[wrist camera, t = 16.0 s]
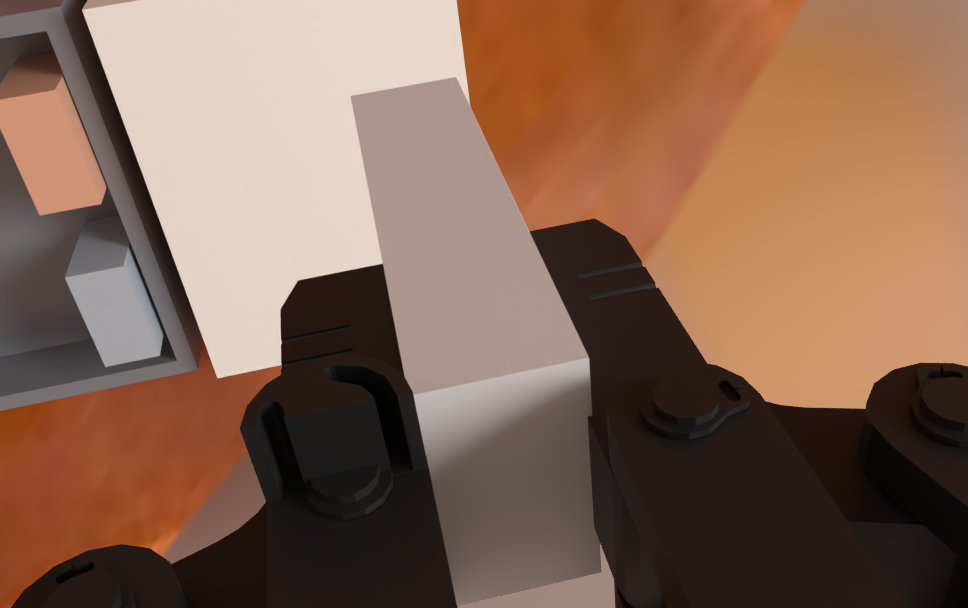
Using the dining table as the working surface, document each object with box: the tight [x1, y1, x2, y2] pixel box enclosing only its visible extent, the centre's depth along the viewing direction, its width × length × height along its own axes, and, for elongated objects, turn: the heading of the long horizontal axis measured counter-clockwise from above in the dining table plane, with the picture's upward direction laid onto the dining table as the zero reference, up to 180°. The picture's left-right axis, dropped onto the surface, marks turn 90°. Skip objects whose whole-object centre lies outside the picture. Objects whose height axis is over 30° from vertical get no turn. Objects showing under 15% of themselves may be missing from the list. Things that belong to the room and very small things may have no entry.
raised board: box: [82, 0, 470, 378], centre depth 42 cm, size 18×14×5 cm
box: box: [0, 0, 202, 411], centre depth 41 cm, size 18×12×4 cm, turn 8°
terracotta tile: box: [0, 52, 107, 215], centre depth 38 cm, size 5×5×2 cm
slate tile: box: [65, 216, 164, 367], centre depth 43 cm, size 5×5×2 cm
